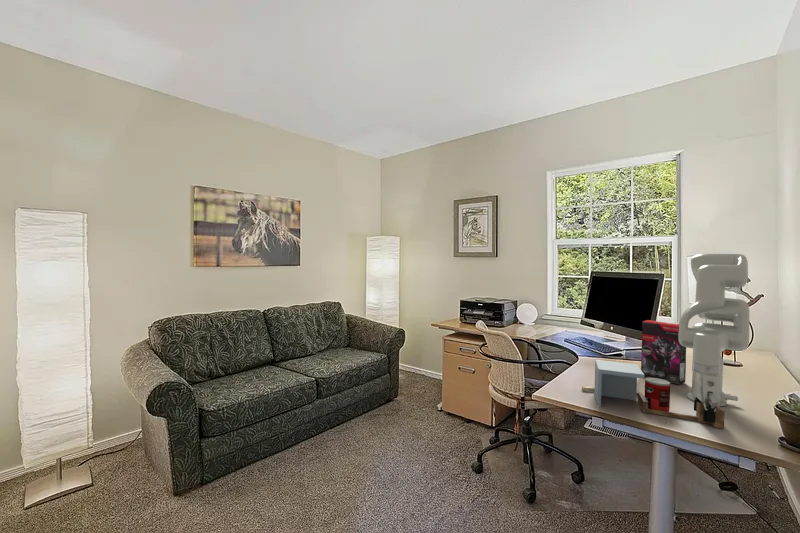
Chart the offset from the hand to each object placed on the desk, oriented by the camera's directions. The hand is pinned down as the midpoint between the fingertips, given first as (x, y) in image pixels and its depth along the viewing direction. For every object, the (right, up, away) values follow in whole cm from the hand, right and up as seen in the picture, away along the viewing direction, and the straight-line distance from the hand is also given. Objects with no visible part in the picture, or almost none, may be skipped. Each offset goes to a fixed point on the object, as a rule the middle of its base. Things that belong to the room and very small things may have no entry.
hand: (703, 416), depth 131 cm
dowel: (-23, -1, +28) cm, 36 cm away
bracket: (-11, -1, +31) cm, 33 cm away
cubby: (-22, -1, +16) cm, 27 cm away
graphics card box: (+18, -1, +47) cm, 51 cm away
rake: (-5, -1, +6) cm, 8 cm away
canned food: (-10, -2, +10) cm, 14 cm away
